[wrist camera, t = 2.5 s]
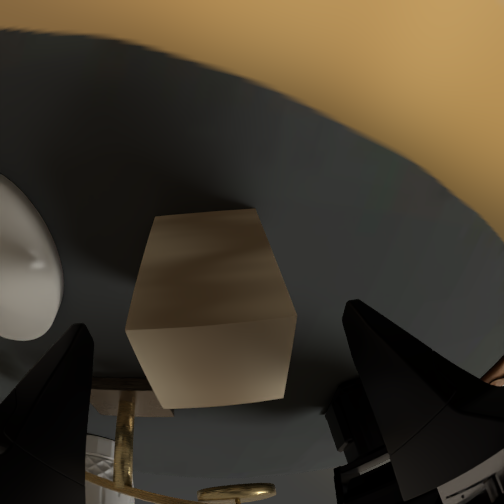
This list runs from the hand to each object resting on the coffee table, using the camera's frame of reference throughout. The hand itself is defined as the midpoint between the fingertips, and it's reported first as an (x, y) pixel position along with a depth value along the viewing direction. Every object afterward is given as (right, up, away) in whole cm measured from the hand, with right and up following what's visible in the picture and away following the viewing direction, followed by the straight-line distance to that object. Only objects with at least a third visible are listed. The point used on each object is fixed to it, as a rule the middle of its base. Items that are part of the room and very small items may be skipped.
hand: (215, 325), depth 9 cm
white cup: (-15, -19, +15) cm, 29 cm away
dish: (-12, +2, +1) cm, 13 cm away
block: (-1, +2, +3) cm, 4 cm away
